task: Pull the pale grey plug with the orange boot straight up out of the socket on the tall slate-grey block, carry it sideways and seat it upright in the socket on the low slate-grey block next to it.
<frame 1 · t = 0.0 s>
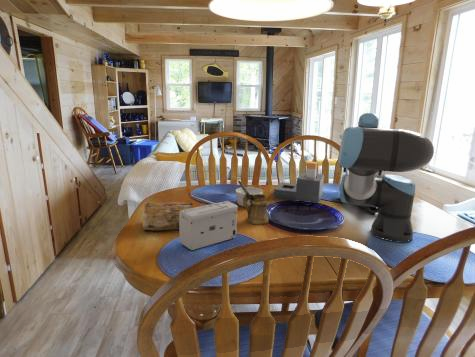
hand: (361, 177, 158), 15 cm above the table, tool tilted 35°, fingers open, 13 cm apart
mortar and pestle: (252, 221, 142), on the table
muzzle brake: (358, 206, 166), on the table
stereo radio cassette player: (209, 242, 121), on the table
plug: (310, 181, 172), point 9 cm above the table, touching dock
petrified wood: (168, 227, 133), on the table
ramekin: (248, 204, 164), on the table
dock: (298, 197, 177), on the table
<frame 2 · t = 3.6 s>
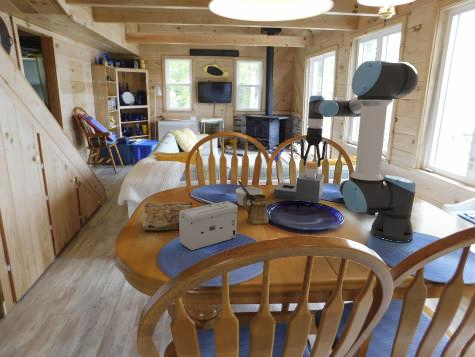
hand: (311, 172, 171), 14 cm above the table, tool pointing down, fingers closed on plug, 4 cm apart
plug: (310, 181, 172), point 10 cm above the table, touching dock, gripper
everything else where it was.
when the fingers open (9 cm above the table, at t = 10.7 s): plug drops 1 cm, resting on dock.
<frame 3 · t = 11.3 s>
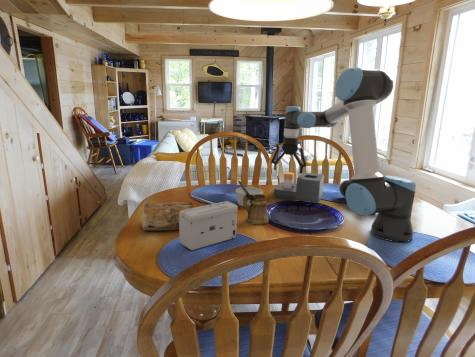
hand: (287, 177, 176), 10 cm above the table, tool pointing down, fingers open, 11 cm apart
plug: (288, 191, 178), point 2 cm above the table, touching dock
everything else where it was.
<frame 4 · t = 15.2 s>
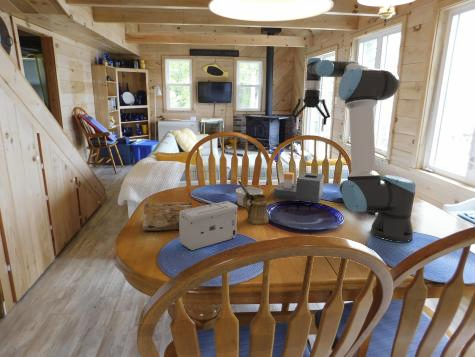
hand: (309, 130, 178), 35 cm above the table, tool pointing down, fingers open, 13 cm apart
nothing on the table moved.
at the end: plug 0.0 cm from the target spot on the dock, point 2.5 cm above the dock's base; plug tilted 0°; the gripper is holding nothing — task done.
